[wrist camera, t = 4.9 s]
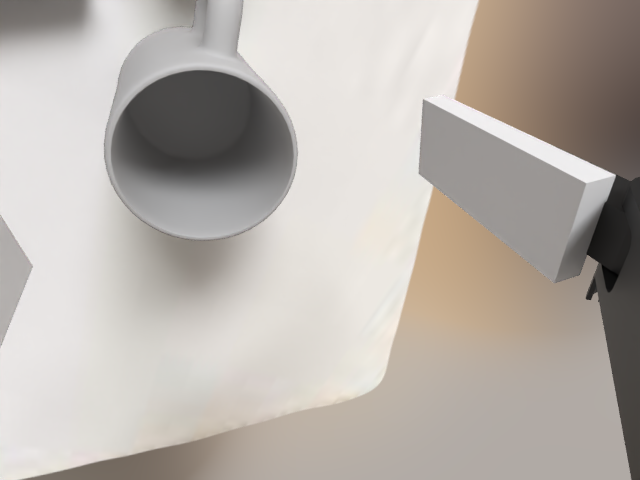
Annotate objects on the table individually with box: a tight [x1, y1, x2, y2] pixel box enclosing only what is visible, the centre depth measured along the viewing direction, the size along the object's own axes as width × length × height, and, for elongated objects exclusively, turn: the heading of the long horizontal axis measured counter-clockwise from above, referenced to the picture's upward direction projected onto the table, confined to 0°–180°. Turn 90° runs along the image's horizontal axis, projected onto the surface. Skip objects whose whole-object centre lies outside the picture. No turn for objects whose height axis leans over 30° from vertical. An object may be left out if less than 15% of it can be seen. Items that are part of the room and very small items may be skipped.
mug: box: [104, 0, 298, 241], centre depth 22 cm, size 12×8×11 cm
